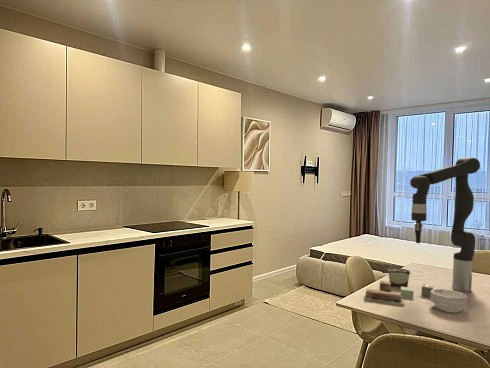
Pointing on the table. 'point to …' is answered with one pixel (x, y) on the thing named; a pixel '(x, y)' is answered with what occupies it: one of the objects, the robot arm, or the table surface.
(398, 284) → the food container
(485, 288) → the table surface
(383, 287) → the walnut striped block
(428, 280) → the table surface
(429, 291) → the charcoal striped block
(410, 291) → the plain sage block
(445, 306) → the paper bowls
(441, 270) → the table surface
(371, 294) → the packaged product
